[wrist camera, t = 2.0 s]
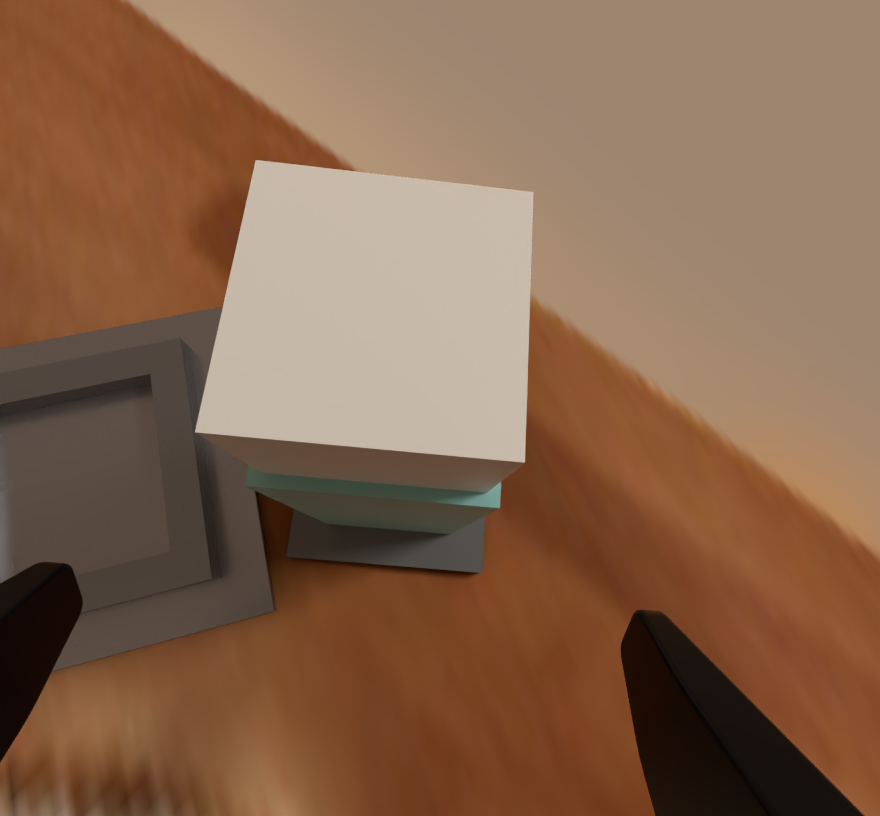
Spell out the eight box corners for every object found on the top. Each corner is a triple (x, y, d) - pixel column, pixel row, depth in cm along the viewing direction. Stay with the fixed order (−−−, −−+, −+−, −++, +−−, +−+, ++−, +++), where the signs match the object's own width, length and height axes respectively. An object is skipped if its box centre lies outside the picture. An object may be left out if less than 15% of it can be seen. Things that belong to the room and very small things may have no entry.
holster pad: (480, 572, 19) (481, 572, 18) (288, 556, 19) (286, 556, 18) (489, 393, 21) (491, 389, 20) (317, 376, 21) (315, 372, 20)
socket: (275, 610, 18) (266, 614, 17) (-102, 712, 16) (-143, 725, 15) (227, 309, 21) (216, 294, 20) (-94, 371, 19) (-128, 358, 18)
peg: (450, 534, 19) (544, 485, 6) (326, 523, 18) (168, 450, 6) (458, 416, 20) (550, 179, 8) (343, 405, 20) (241, 143, 7)
